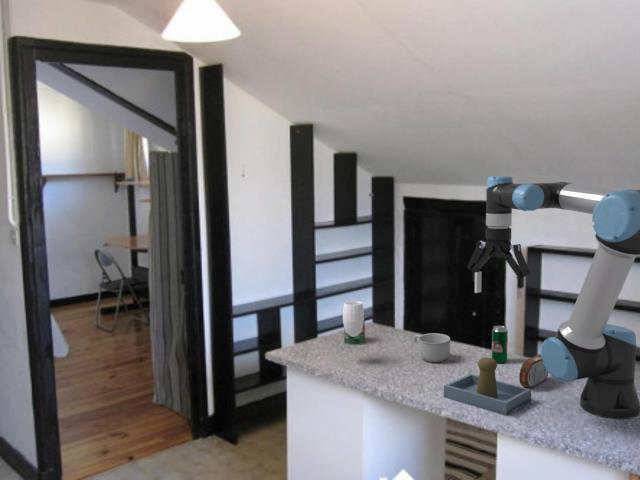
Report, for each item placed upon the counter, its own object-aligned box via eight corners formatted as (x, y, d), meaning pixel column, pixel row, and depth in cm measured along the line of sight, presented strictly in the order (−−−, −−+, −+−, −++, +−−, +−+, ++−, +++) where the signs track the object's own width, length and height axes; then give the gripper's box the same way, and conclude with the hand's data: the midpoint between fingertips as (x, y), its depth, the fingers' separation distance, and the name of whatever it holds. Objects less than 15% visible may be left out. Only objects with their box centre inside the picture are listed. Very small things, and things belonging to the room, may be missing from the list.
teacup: (456, 360, 221) (456, 338, 220) (433, 366, 215) (433, 343, 214) (428, 351, 232) (428, 329, 231) (405, 356, 226) (405, 334, 225)
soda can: (488, 361, 220) (489, 327, 218) (498, 358, 223) (498, 324, 221) (500, 364, 216) (501, 330, 214) (510, 361, 219) (511, 327, 217)
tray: (531, 401, 184) (531, 389, 183) (505, 415, 174) (506, 403, 173) (470, 384, 198) (470, 373, 197) (443, 396, 188) (443, 385, 188)
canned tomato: (358, 346, 240) (358, 317, 238) (340, 343, 244) (339, 315, 242) (368, 341, 246) (368, 313, 245) (350, 338, 250) (350, 310, 249)
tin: (541, 376, 204) (542, 351, 203) (551, 379, 202) (551, 353, 201) (517, 389, 193) (518, 362, 192) (527, 391, 191) (528, 364, 190)
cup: (361, 366, 217) (360, 306, 214) (340, 364, 219) (339, 304, 216) (366, 359, 223) (366, 301, 221) (346, 358, 226) (346, 300, 223)
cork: (498, 400, 182) (499, 362, 181) (476, 398, 183) (477, 361, 182) (497, 392, 188) (497, 356, 187) (475, 391, 189) (476, 355, 188)
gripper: (543, 228, 190) (541, 299, 193) (469, 223, 208) (468, 288, 210) (531, 230, 185) (529, 303, 188) (456, 225, 202) (455, 291, 205)
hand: (497, 295), depth 199 cm, fingers open, 13 cm apart
